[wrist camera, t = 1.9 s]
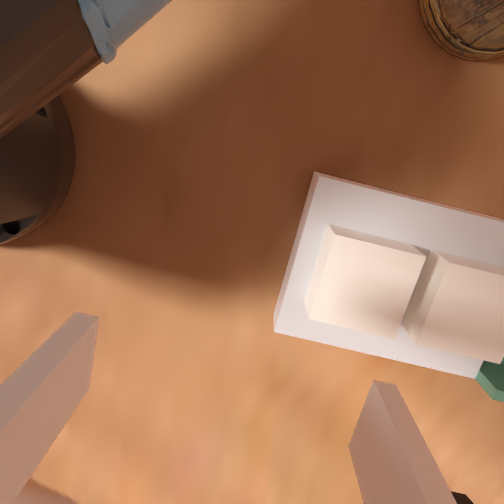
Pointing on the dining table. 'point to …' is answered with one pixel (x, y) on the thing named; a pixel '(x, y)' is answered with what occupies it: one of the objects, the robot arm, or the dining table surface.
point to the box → (492, 379)
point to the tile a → (362, 281)
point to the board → (392, 227)
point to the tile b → (458, 307)
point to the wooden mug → (466, 27)
